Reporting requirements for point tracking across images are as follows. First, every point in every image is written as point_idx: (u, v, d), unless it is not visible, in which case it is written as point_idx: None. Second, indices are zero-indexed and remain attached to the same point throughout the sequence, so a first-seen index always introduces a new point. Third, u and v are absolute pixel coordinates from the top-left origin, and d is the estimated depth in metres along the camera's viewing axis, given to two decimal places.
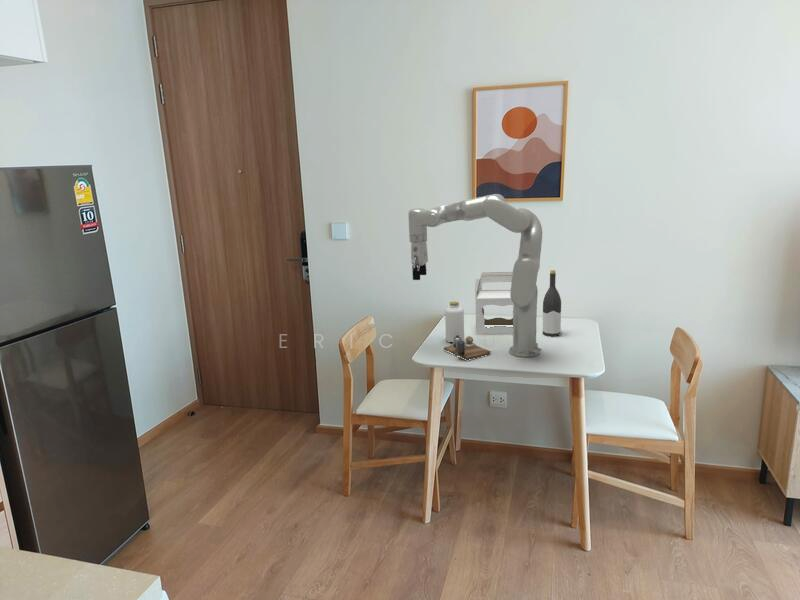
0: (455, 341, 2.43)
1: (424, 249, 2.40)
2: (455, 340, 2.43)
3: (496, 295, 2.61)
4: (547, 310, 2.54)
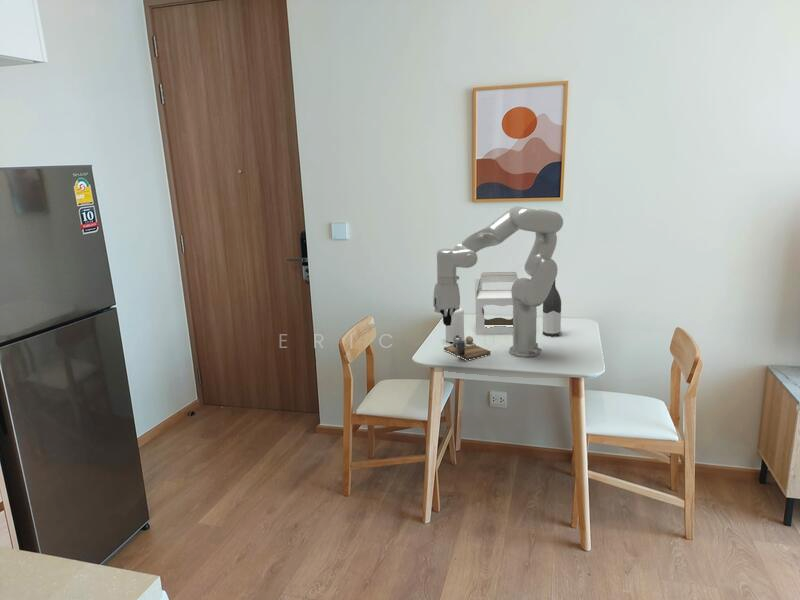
0: (455, 341, 2.43)
1: None
2: (455, 340, 2.43)
3: (496, 295, 2.61)
4: (547, 310, 2.54)
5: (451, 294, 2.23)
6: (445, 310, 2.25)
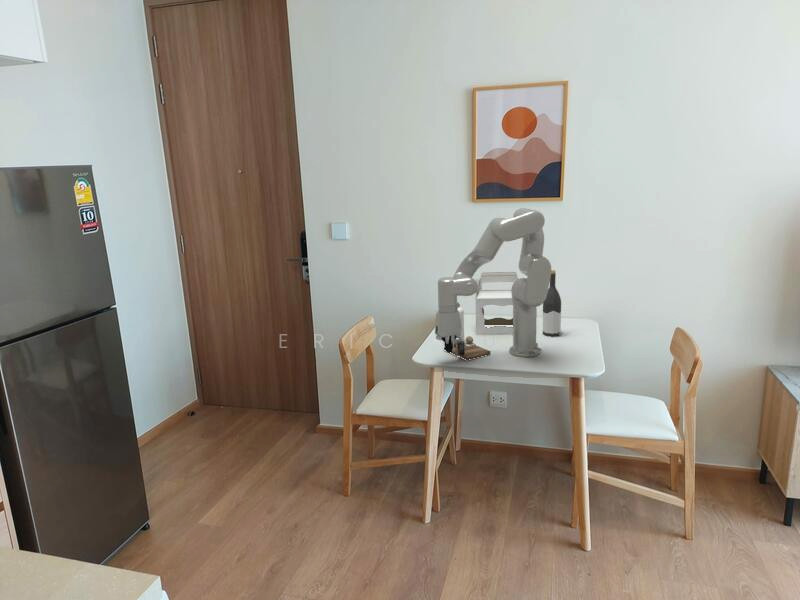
0: (455, 341, 2.43)
1: None
2: (455, 340, 2.43)
3: (496, 295, 2.61)
4: (547, 310, 2.54)
5: (452, 322, 2.25)
6: (446, 337, 2.27)
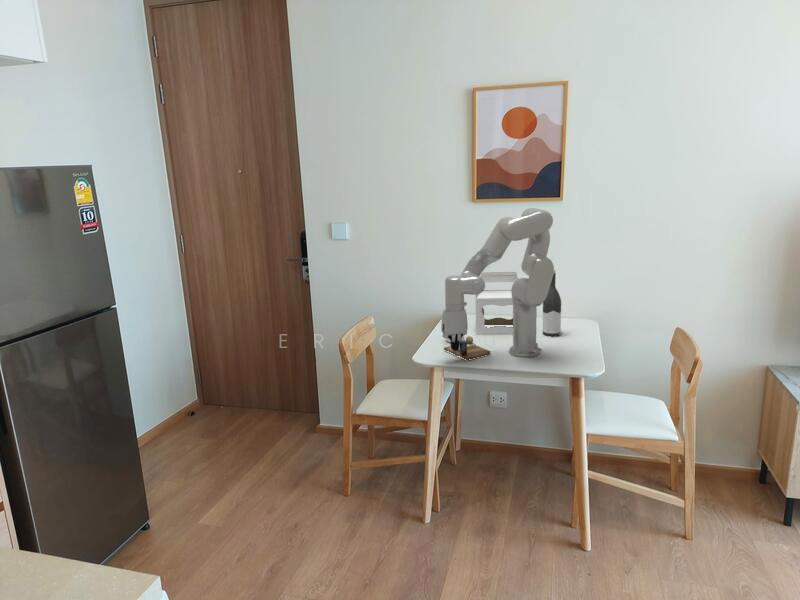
0: None
1: None
2: None
3: (496, 295, 2.61)
4: (547, 310, 2.54)
5: (459, 320, 2.26)
6: (453, 336, 2.28)
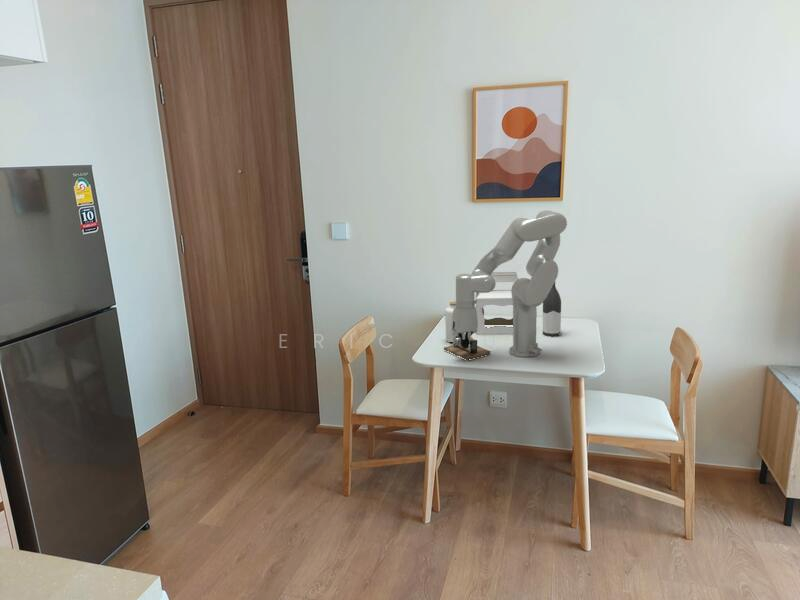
0: (457, 341, 2.43)
1: None
2: (457, 340, 2.42)
3: (496, 295, 2.61)
4: (547, 310, 2.54)
5: (469, 318, 2.28)
6: (463, 333, 2.30)
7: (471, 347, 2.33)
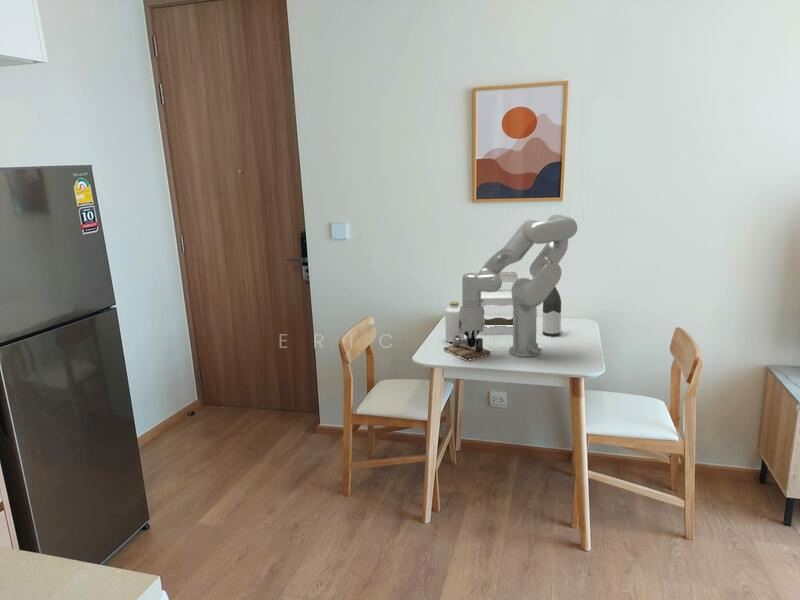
0: (458, 341, 2.43)
1: None
2: (458, 340, 2.42)
3: (496, 295, 2.61)
4: (547, 310, 2.54)
5: (476, 317, 2.29)
6: (469, 332, 2.31)
7: (477, 345, 2.34)
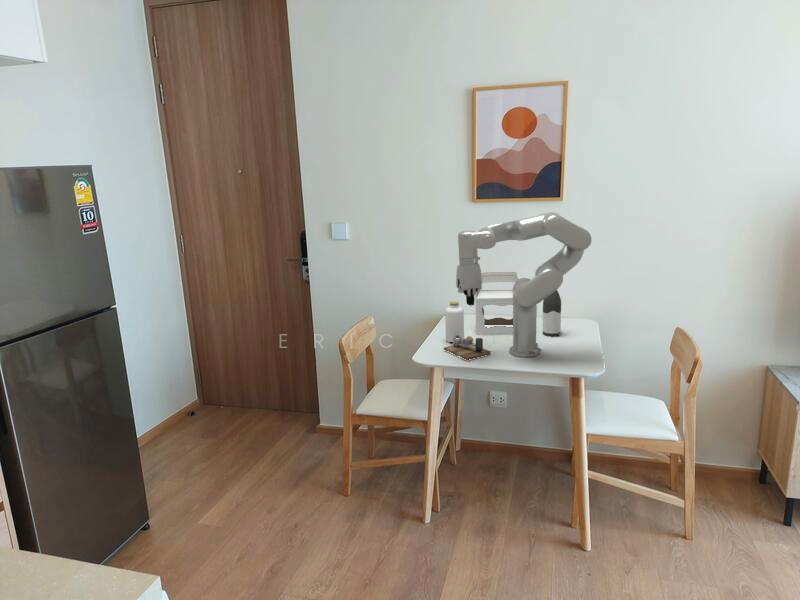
0: (458, 341, 2.43)
1: None
2: (458, 340, 2.42)
3: (496, 295, 2.61)
4: (547, 310, 2.54)
5: (474, 274, 2.30)
6: (468, 290, 2.32)
7: (477, 345, 2.34)
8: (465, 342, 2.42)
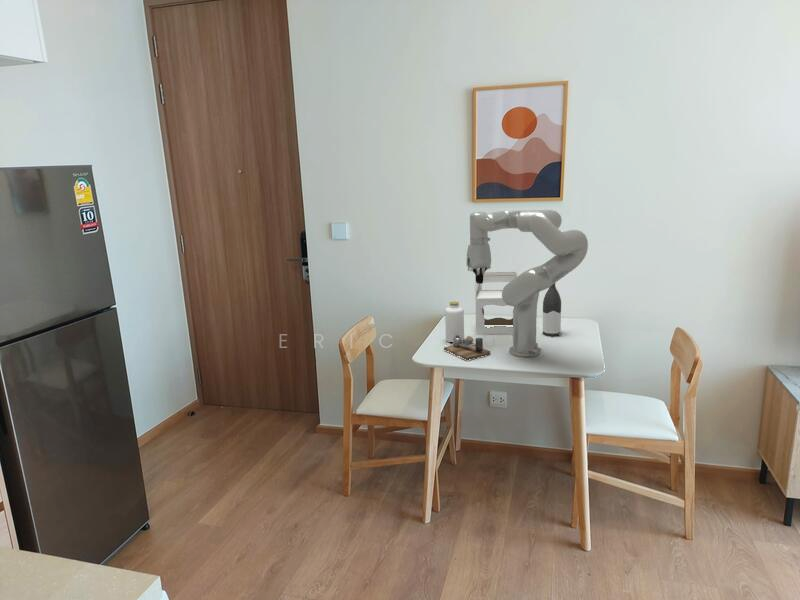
0: (458, 341, 2.43)
1: None
2: (458, 340, 2.42)
3: (496, 295, 2.61)
4: (547, 310, 2.54)
5: (483, 254, 2.42)
6: (478, 269, 2.44)
7: (477, 345, 2.34)
8: (465, 342, 2.42)
